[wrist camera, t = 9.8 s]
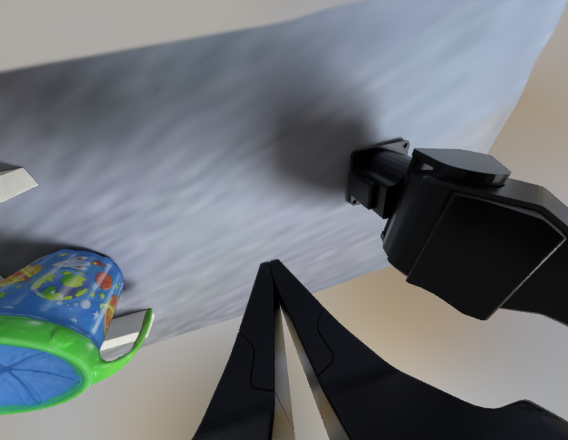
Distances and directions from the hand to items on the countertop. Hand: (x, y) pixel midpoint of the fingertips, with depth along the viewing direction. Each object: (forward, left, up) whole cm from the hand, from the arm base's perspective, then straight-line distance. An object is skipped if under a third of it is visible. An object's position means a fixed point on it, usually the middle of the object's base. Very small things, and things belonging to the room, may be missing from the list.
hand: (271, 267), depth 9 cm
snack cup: (+20, +7, -13) cm, 25 cm away
